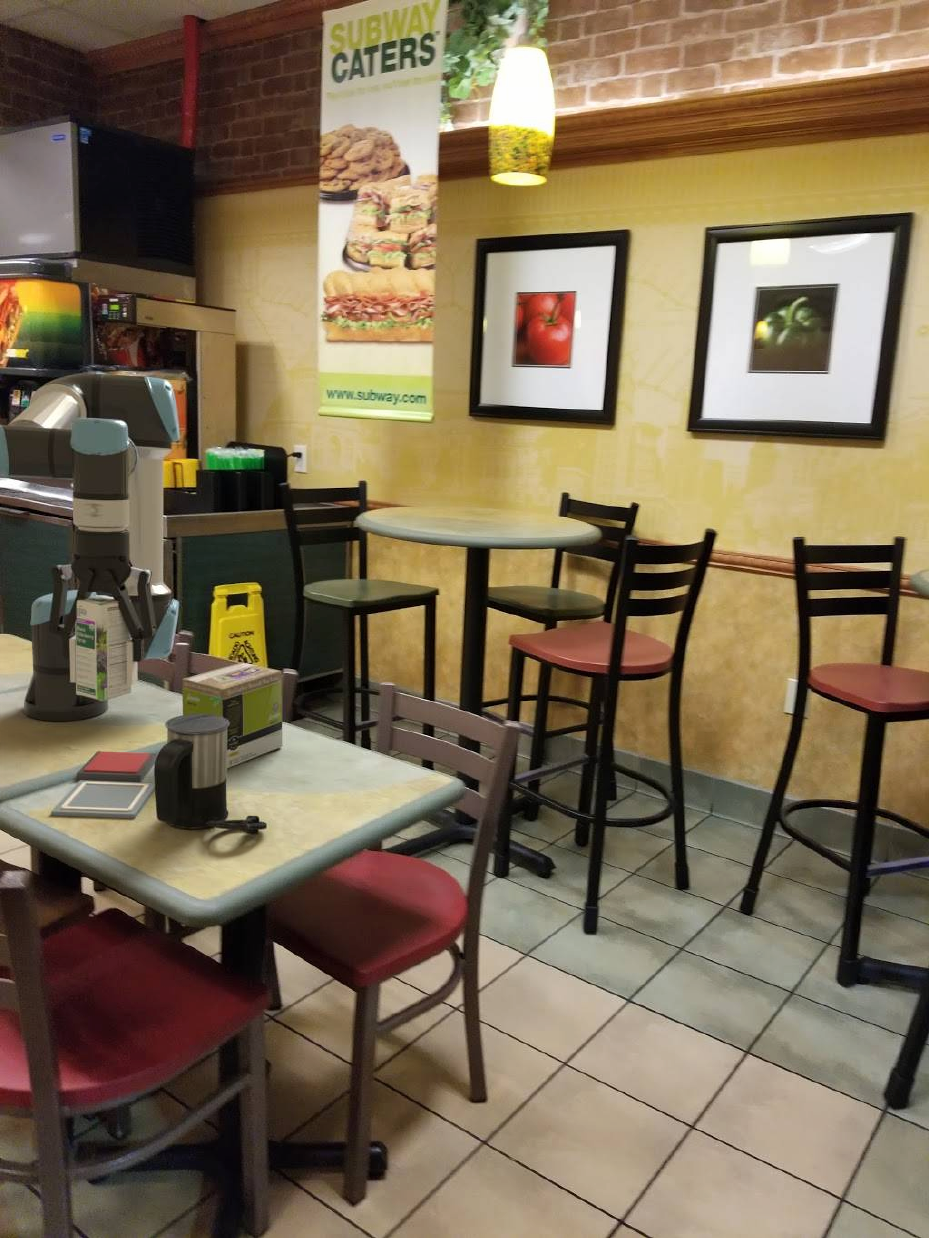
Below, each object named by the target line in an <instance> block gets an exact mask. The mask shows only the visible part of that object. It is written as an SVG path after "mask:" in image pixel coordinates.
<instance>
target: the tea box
mask: <svg viewBox="0 0 929 1238" xmlns="http://www.w3.org/2000/svg"><path fill="white" fill-rule="evenodd" d="M181 684H182V685H181V688H182V691H181V692H182V715H189V714H210V715H216V716H220V717H223V718H225V719H227V720H228V721H229V723H230V724H229V726H228V727H227V769H230V768H232V767H235V766H237V765H239V764H242V763H244V762H246V761H249V760H252V759H254V758H257V757H259V756H262V755H265V754H267V753H270V752H271V751H272V752H273V751H275V750H277V749H280V748H282V747H283V671H282V670H278V669H273V668H269V667H265V666H260V665H255V664H252V663H246V662H244V661H242V662H238V663H235V664H231V665H227V666H225V667H219V668H217V669H213V670H209V671H206V672H202V673H199V674H196V675H192V676H189V677H184V678H182V682H181Z"/></svg>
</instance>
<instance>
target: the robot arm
mask: <svg viewBox="0 0 929 1238" xmlns="http://www.w3.org/2000/svg"><path fill="white" fill-rule="evenodd" d="M180 437H181V435H180V423H179V415H178V407H177V401H176V396H175V391H174V388H173V385H172V384H171V382H169V380H167V379H164V378H158V377H153V376H152V377H150V376H142V375H141V376H137V375H122V374H120V375H119V374H105V373H96V372H82V373H75V374H69V375H66V376H62V377H59V378H56V379H53V380H51V381H49V382H47V383H45V384H43V385H41V386H40V387H38V389H37V390H36V391H34V393H33V394H32V396H31V398H30V400H29V404H28V406H27V407H26V408H25V409H24V410H23V411H22V412H21V413H20V414H19V415H17V416H16V417H15V418H13V420H12V421H10V422H9V423H8V424H7V425H6V424H5V425H4V424H0V477H1V478H6V479H7V478H23V479H24V478H25V479H27V478H28V479H31V478H32V479H50V480H51V479H54V480H71V481H72V513H73V515H72V517H73V518H72V519H73V521H72V523H73V525H75V527H77V528H75V529H74V530H73V560H72V562H71V563H70V564H58V565H55V566H54V567H52V568H51V575H52V579H53V582H54V583H53V591H52V593H49V594H44V595H42V596H40V597H38V598H37V599H35V600H34V601H33V602H32V604H31V613H30V615H31V618H30V623H29V624H30V626H31V629H30V630H31V648H32V649H31V650H32V676H31V679H30V683H29V684H28V688H27V691H26V694H25V697H24V700H23V710H24V714H25V713H26V714H27V715H28V717H29V716H30V717H29V718H31V717H33V718H32V719H34V718H36V719H35V720H39V719H40V721H47V722H67V721H71V722H72V721H78V720H84V719H85V720H86V719H89V718H93V717H97V716H99V715H101V714H103V713H104V712H106V711H107V710H108V709H109V699H108V700H105V701H100V700H97V699H93V698H90V697H86V696H82V695H77V694H76V636H75V622H76V619H77V601H78V600H85V599H86V598H88V597H90V596H97V595H98V594H97V593H98V592H102V593H105V594H108V595H107V596H108V597H113V598H114V599H115V600H116V601H118V602H117V603H118V606H119V610H120V612H121V614H122V617H123V619H124V621H125V624H126V626H127V628H128V631H129V633H130V635H131V639H130V640H128V641H127V685H131V686H132V685H134V684H135V683H136V682H137V681H138V680H139V679H138V676H139V675H138V674H139V673H138V663H140V662H142V661H143V660H144V661H148V659H149V660H152V659H165V658H167V657H168V656H170V655H171V653H172V651H173V647H174V642H175V636H176V632H177V624H178V617H179V607H180V601H178V600H177V599H175V598H173V599H172V590H171V589H170V588H169V587H168V586H167V585H166V584H165V582H164V460H165V458H166V457H167V456H168V455H169V454H170V453H171V452H172V450H173V449H172V447H173V446H172V445H173V443H175V442H179V441H180V439H181V438H180ZM172 442H173V443H172ZM72 573H73V574H74V575H75V577H76V579H78V581H79V582H80V584H79V586H78V589H73V590H69V579H71V578H72ZM129 600H131V603H130V601H129ZM26 714H25V715H26ZM27 715H26V716H27Z"/></svg>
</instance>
